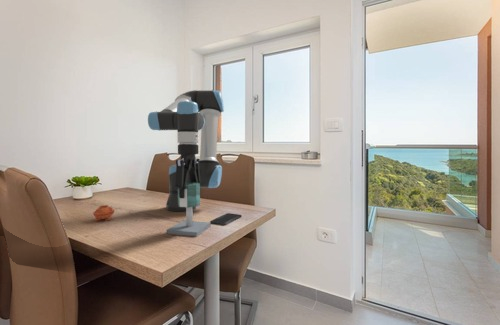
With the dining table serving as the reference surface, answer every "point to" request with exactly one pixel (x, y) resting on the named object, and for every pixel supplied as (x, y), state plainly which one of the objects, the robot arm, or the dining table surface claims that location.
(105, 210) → the pot
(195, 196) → the bead
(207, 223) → the spindle plate
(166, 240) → the dining table surface
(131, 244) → the dining table surface
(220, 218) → the phone
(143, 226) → the dining table surface
